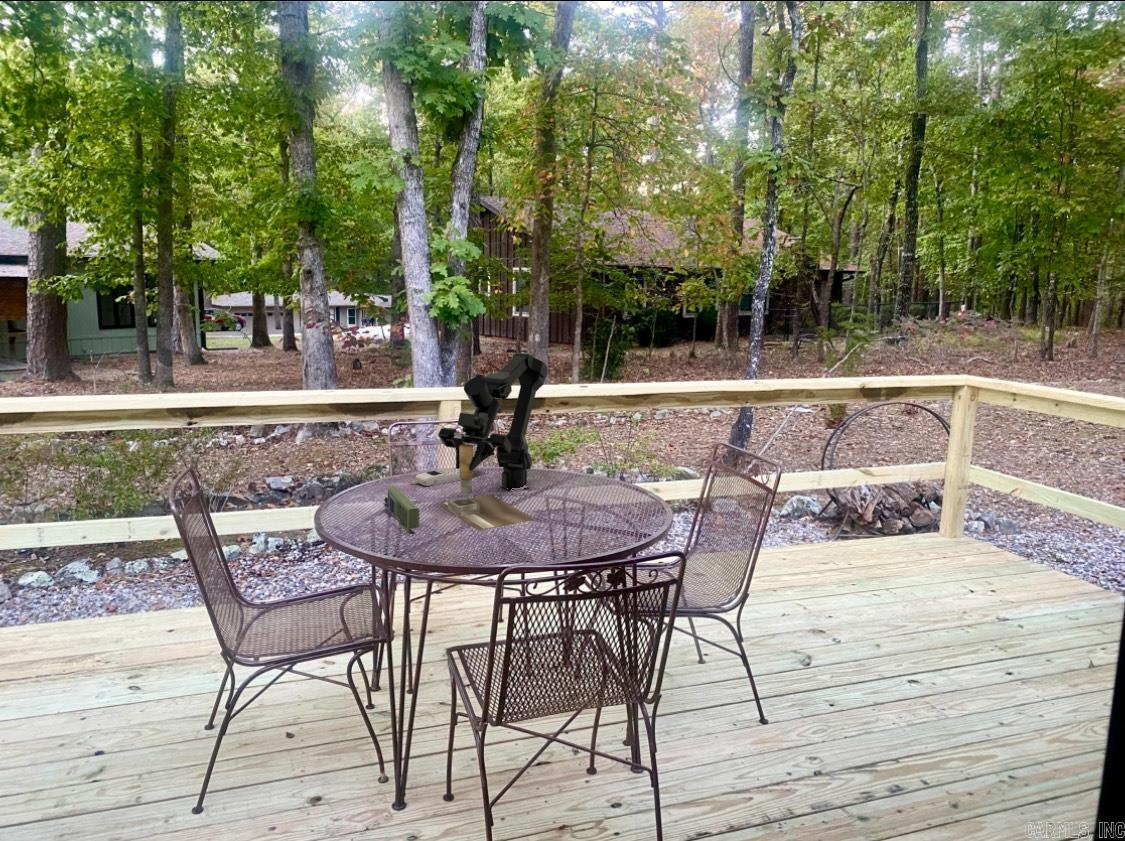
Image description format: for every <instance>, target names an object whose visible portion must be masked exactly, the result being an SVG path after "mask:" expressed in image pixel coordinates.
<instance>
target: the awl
mask: <svg viewBox="0 0 1125 841" xmlns="http://www.w3.org/2000/svg"><path fill="white" fill-rule="evenodd" d="M473 457H474V445H473V444H466V445H460V446H459V460H460V468H459V469H460V478H461V480H460V493H461V494H464V495H466V494H472V493H473V478H474V470H472V471H470V470H469V467H470V464H471V461H472V459H473Z"/></svg>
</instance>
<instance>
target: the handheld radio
mask: <svg viewBox="0 0 1125 841" xmlns="http://www.w3.org/2000/svg"><path fill="white" fill-rule="evenodd" d="M383 501H384V502H385V504H387V506H386V508H387V512H388V513H389V512H392V513H393V514H392V515H391V516H393V518H394V519H395V520H396V522H397V523H398V524H399V525H400V526H401V527H402V528H403V530H404V531H406V532H407V534H408V535H414V534H416V532H414V531H413V530H412V529H413V528H418V527H419V526H420V509H419V507H418V506H416V505H415V503H414V502H413V501H411V499H409V497H408V496H407V495H405V493H404V492H403V491H401V489H400V488H398V486H397V485H396V486H395V485H393V484H389V485H388V488H387V497H385V498H384V499H383ZM394 515H395V516H394ZM397 517H398V518H399V519H398V518H397Z"/></svg>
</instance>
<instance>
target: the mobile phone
mask: <svg viewBox="0 0 1125 841" xmlns="http://www.w3.org/2000/svg"><path fill="white" fill-rule="evenodd" d="M488 459H489V457H488V458H487V459H485V460H484V461H483V462H481V463H480V464H479V465H478V466H477V467H476V468H475V469H474V470H476V469H477V468H479V467H480V466H481V465H482V464H483V463H485V462H486V461H487V460H488ZM457 480H459V481H461V478H460V468H459V469H457V468H456V467H455V468H450V469H444V470H437V471H436V470H431V471H426V472H422V473H420V474H416V475H415V480H412V481H409V485H415V484H417V485H418V484H420V485H423V486H426V487H427V486H429V487H431V485H433V486H435V485H436V486H438V485H437V484H439V485H444V484H448V482H449V483H453V481H454V482H458V481H457ZM443 483H444V484H443ZM436 486H435V487H436Z"/></svg>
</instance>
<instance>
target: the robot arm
mask: <svg viewBox="0 0 1125 841" xmlns="http://www.w3.org/2000/svg"><path fill="white" fill-rule="evenodd" d="M548 372H549V368H548V366H547V364H545V362H544V361H542V360H540V359H537V358H536V357H534V356H533V355H532V354H530V353H522V352H521V353H520V352H517V353H514V354H513V356H512V358H511V359H510V360H509V361H508V362H507V363H506V364H505V365H504V366H503V367H502V368H501V369H500V370H499V371H497V372H495V373H490V374H488V375H487V376H485V375H484V374H476V375H475V377H473V378H471V379H469V380H468V381H467V382H465V383H464V386H463V391H464V393H465V394H466V396H467V398H468V400H469V401H470V403H471V405H472V406H473V407H475V409H474V412H473V413H468V412H459V415H458V421H457V424H456V425H457V426H459V427H462V429H461V431H463V433H465V434H463V433H460V432H458V430H457V429H456V428H452V427H442V428H440V429H439V431H438V434H437V436H438V438H439V439H440V441H441V442H442V443H443V445H444V447H446V448H452V449H453V448H454V449H455V469H456V468H457V469H460V460H459V446H460V445H468V444H469V445H476V450H475V452H474V453H473V459H472V461H471V464H470V467H469V470H470V471H472V470H473V471H475V470H476V469H477V468H478V467H479V466H480V465H479V464H480V463H481V462H483V461H484V460H485V459H487V458H488V459H489V457H490V456H495V450H496V458H497V464H498V468H502V473H501V484H502V486H503V487H502V486H501V487H502V488H504V487H505V488H508V489H509V490H511V489H512V488H520V487H523V486H524V485H526V484H527V482H528V480H527V479H528V470H531V468H532V465H533V458H532V456H531V455H530V453H529V445H528V441H527V439H526V435H527V432H528V431H527V430H528V427H529V423H530V419H531V416H532V415H531V414H532V409H533V406H534V401H535V397H536V393H537V391H539V390H540V388H542V387H543V386H544V384H545V381H546V378H547V377H548V374H549V373H548ZM517 380H518V382H519V385H520V386H519V392H518V396H517V400H516V404H515V407H514V412H513V416H512V419H511V423H510V428H509V432H508V433H507V434H505V433H504V434H503V433H496V432H494V430H495V427H494V423H495V421H496V418H497V415H498V414H501V413H502V408H501V405H500V403H499V402H498V401H499V400H504V401H505V400H507V399H508V397H509V396H510V395H511V393H512V392H513V391H512V385H513V384H514V383H515V382H516V381H517ZM491 432H493V433H491ZM488 459H487V460H488ZM485 461H486V460H485ZM485 461H484V462H485ZM484 462H483V463H484ZM478 465H479V466H478ZM477 466H478V467H477ZM476 467H477V468H476ZM475 468H476V469H475ZM505 488H504V489H505ZM509 490H508V491H509ZM512 490H514V489H512ZM514 491H515V490H514Z"/></svg>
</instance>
